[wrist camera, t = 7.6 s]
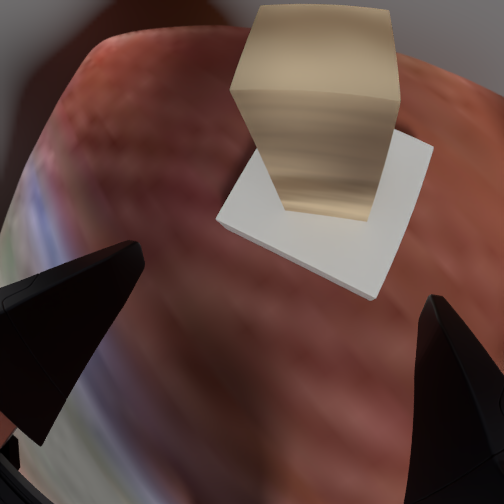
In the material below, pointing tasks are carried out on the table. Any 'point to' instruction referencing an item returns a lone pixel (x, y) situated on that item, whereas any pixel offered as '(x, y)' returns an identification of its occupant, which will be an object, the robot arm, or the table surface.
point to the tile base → (333, 220)
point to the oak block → (320, 103)
